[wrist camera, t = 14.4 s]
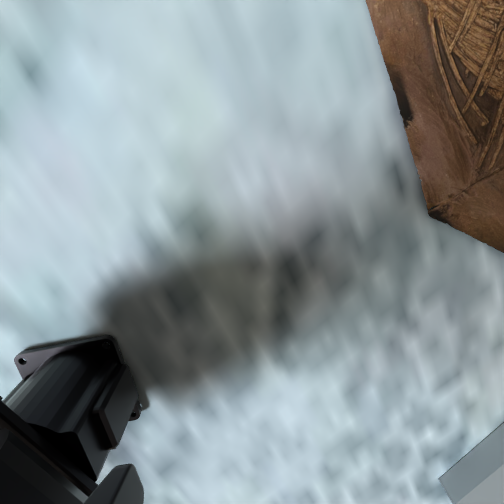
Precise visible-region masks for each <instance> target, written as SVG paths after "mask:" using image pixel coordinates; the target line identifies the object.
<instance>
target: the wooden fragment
mask: <svg viewBox="0 0 504 504" xmlns="http://www.w3.org/2000/svg"><path fill="white" fill-rule="evenodd" d="M366 3H367V6H368V9H369V12H370V16H371V20H372V23H373V27H374V30H375V34H376V36H377V39H378V43H379V45H380V48H381V52H382V55H383V59H384V62H385V65H386V68H387V71H388V74H389V76H390V81H391V83H392V86H393V90H394V92H395V94H396V97H397V101H398V106H399V109H400V114H401V116H402V118H403V123H404V128H405V131H406V134H407V137H408V142H409V144H410V149H411V152H412V155H413V159H414V163H415V165H416V167H417V169H418V174H419V175H420V177H419V178H420V179H421V180H422V181H421V185H422V190H423V193H424V197H425V200H426V203H427V209H428V210H429V209H430V208H432V207H434V206H437V205H439V204H440V205H439V206H438V207H436V208H433V209H432V210H429V211H428V214H429V216H430V217H432V218H434V219H436V220H438V221H441V222H443V223H447V224H449V225H450V226H451V227H453V228H455V229H457V230H460V231H462V232H465V234H468V235H470V236H472V237H473V238H475V239H477V240H479V241H481V242H483V243H487V245H489V246H492V247H494V248H495V249H497V250H499V251H501V252H503V253H504V0H366Z"/></svg>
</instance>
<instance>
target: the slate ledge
mask: <svg viewBox="0 0 504 504" xmlns="http://www.w3.org/2000/svg"><path fill="white" fill-rule="evenodd" d="M439 481H440V483H441V484H442V486H443V488H444V490H445V491H446V493H447V495H448V496H449V498H450V500H451V502H452V503H453V504H504V423H503V424H502V425H500V426H499V427H498V428H497V429H496V430H495V431H493V432H492V433H491V434H490V435H489V436H488V437H487V438H485V439H484V440H483V441H482V442H481V443H480V444H478V445H477V446H476V447H475V448H474V449H473V450H471V451H470V452H469V453H468V454H467V455H466V456H465V457H463V458H462V459H461V460H460V461H459V462H458V463H456V464H455V465H454V466H453V467H452V468H451V469H450V470H448V471H447V472H446V473H445V474H444V475H443V476H441V477H440V478H439Z"/></svg>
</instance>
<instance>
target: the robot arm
mask: <svg viewBox="0 0 504 504" xmlns="http://www.w3.org/2000/svg"><path fill="white" fill-rule="evenodd" d="M105 342H108V343H109V344H110V345H106V344H105ZM23 358H24V359H25V360H26V361H25V360H23ZM14 362H15V364H16V366H17V368H18V370H19V372H20V374H21V376H22V379H23V380H22V381H21V382H20V383H19V384H18V385H17V386H16V387H15V388H14V389H13V390H12V392H11V393H10V394H9V395H8V396H7V397H6V398H5V399H4V400H3V401H1V400H2V399H3V398H2V397H1V396H0V504H143V501H144V489H143V486H142V483H141V481H140V478H139V476H138V473H137V471H136V468H135V466H134V465H133V464H124V465H119V466H116V467H114V468H113V469H112V470H111V471H110V473H109V474H108V475H107V476H106V477H105V478H104V480H103V481H102V482H101V483H100V484H99V485H98V484H96V483H95V482H96V481H97V479H98V476H99V474H100V472H101V470H102V467H103V465H104V463H105V460H106V458H107V456H108V453H109V451H110V450H111V449H116V447H117V446H118V444H119V442H120V440H121V437H122V435H123V433H124V430H125V428H126V425H127V423H128V421H132V420H136V419H138V418H139V417H140V414H141V411H142V409H141V406H140V403H139V401H138V396H139V395H138V392H137V389H136V387H135V384H134V381H133V378H132V376H131V373H130V370H129V368H128V366H127V365H126V364H125V363H124V360H123V358H122V355H121V352H120V350H119V347H118V344H117V341H116V340H115V338H114V337H112V336H110V335H105V336H100V337H95V338H90V339H84V340H79V341H74V342H69V343H63V344H58V345H53V346H47V347H42V348H37V349H32V350H26V351H22V352H20V353H19V354H18V355H17V356H16V357H15V359H14ZM132 411H134V412H135V413H133V412H132Z"/></svg>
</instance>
